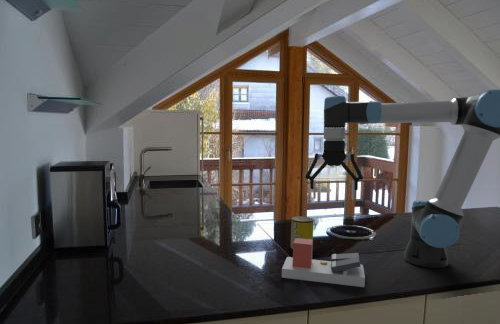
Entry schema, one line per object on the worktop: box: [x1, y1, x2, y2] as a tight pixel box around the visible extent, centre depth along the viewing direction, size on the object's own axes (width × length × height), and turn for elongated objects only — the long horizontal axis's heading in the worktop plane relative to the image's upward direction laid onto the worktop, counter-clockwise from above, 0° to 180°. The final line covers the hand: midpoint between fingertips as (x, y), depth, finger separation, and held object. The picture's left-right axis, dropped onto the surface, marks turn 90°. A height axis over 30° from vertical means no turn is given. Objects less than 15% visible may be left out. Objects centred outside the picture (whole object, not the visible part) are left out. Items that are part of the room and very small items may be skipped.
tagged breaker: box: [330, 252, 360, 262], centre depth 128 cm, size 9×5×2 cm, turn 76°
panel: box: [281, 256, 366, 288], centre depth 127 cm, size 26×12×8 cm, turn 77°
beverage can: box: [290, 216, 315, 250], centre depth 156 cm, size 9×9×12 cm
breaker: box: [331, 256, 361, 272], centre depth 122 cm, size 9×5×2 cm, turn 76°
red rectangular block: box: [292, 238, 314, 268], centre depth 128 cm, size 6×6×8 cm
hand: (333, 198), depth 138 cm, fingers open, 13 cm apart
